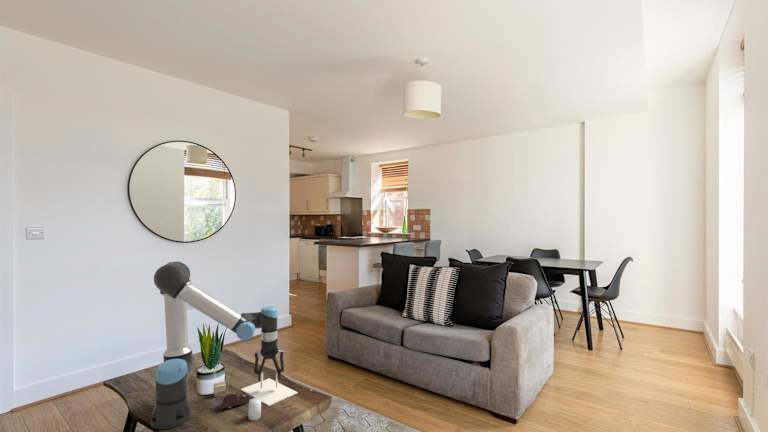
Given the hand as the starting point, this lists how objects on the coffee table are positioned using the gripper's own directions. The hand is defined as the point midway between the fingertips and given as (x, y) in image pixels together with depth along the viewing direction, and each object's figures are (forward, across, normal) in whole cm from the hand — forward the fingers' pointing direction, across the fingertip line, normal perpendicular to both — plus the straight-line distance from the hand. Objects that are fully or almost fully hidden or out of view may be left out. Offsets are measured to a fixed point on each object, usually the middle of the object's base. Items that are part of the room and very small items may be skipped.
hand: (269, 386), depth 183 cm
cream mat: (+3, 0, 0) cm, 3 cm away
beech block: (+3, +23, -1) cm, 23 cm away
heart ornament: (+3, +13, +16) cm, 21 cm away
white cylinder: (+3, +3, +23) cm, 23 cm away
